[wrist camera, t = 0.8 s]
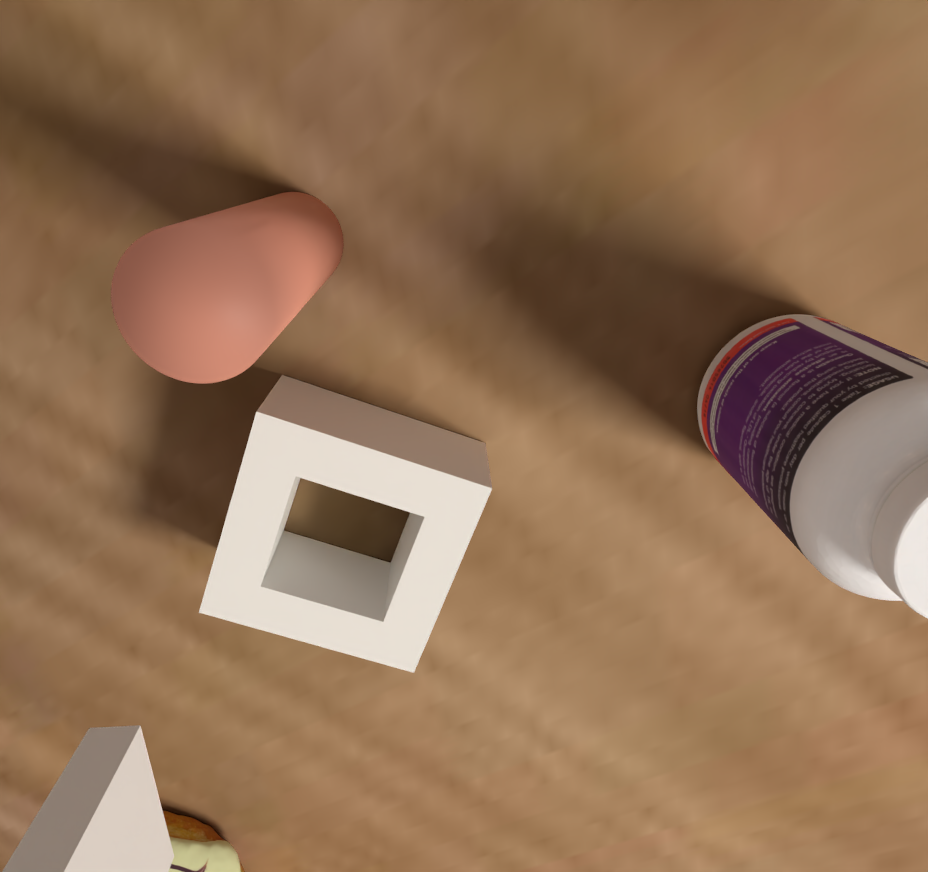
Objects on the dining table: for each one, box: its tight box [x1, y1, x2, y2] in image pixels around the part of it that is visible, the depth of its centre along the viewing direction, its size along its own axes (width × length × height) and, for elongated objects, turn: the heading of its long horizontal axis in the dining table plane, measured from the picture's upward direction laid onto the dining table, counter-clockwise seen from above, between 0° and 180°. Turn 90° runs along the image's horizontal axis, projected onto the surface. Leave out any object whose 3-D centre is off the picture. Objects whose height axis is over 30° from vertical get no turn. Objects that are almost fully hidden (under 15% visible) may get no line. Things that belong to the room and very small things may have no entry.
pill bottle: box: [697, 314, 928, 618], centre depth 28 cm, size 8×8×14 cm
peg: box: [111, 192, 343, 383], centre depth 25 cm, size 4×4×14 cm
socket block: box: [199, 375, 492, 673], centre depth 34 cm, size 10×10×5 cm
